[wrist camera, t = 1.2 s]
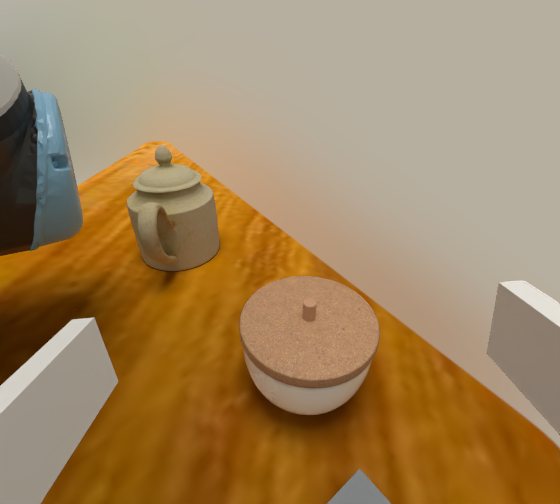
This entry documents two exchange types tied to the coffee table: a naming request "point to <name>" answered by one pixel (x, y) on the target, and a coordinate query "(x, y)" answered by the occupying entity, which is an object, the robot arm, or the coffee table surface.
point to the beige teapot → (173, 216)
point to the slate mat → (359, 492)
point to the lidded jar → (308, 343)
